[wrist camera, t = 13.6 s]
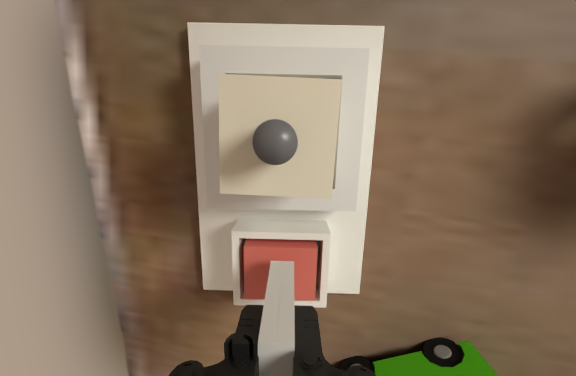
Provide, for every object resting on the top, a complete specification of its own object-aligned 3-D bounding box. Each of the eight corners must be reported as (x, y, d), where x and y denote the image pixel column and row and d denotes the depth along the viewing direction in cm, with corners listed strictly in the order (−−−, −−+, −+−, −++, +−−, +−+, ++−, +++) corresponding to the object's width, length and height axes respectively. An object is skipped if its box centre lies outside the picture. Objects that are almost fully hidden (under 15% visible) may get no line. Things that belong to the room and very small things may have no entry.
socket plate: (191, 26, 18) (169, 4, 15) (380, 30, 18) (400, 9, 15) (206, 284, 23) (191, 311, 20) (356, 288, 23) (367, 315, 20)
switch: (248, 234, 20) (243, 246, 18) (315, 236, 20) (317, 248, 18) (248, 282, 21) (244, 298, 19) (312, 284, 21) (315, 300, 19)
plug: (248, 95, 18) (202, 62, 9) (320, 98, 18) (353, 69, 9) (248, 166, 20) (205, 207, 10) (315, 169, 20) (339, 213, 10)
